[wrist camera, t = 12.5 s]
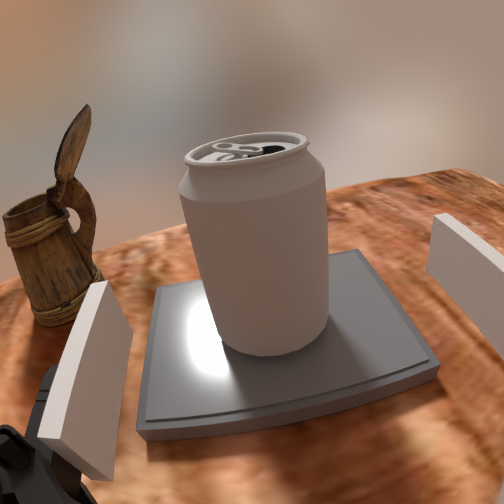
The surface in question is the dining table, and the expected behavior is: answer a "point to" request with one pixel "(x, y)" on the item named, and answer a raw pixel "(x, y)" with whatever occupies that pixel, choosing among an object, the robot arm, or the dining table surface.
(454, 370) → the dining table surface
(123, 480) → the dining table surface
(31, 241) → the wooden mug
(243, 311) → the can
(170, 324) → the slate board
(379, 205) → the dining table surface
